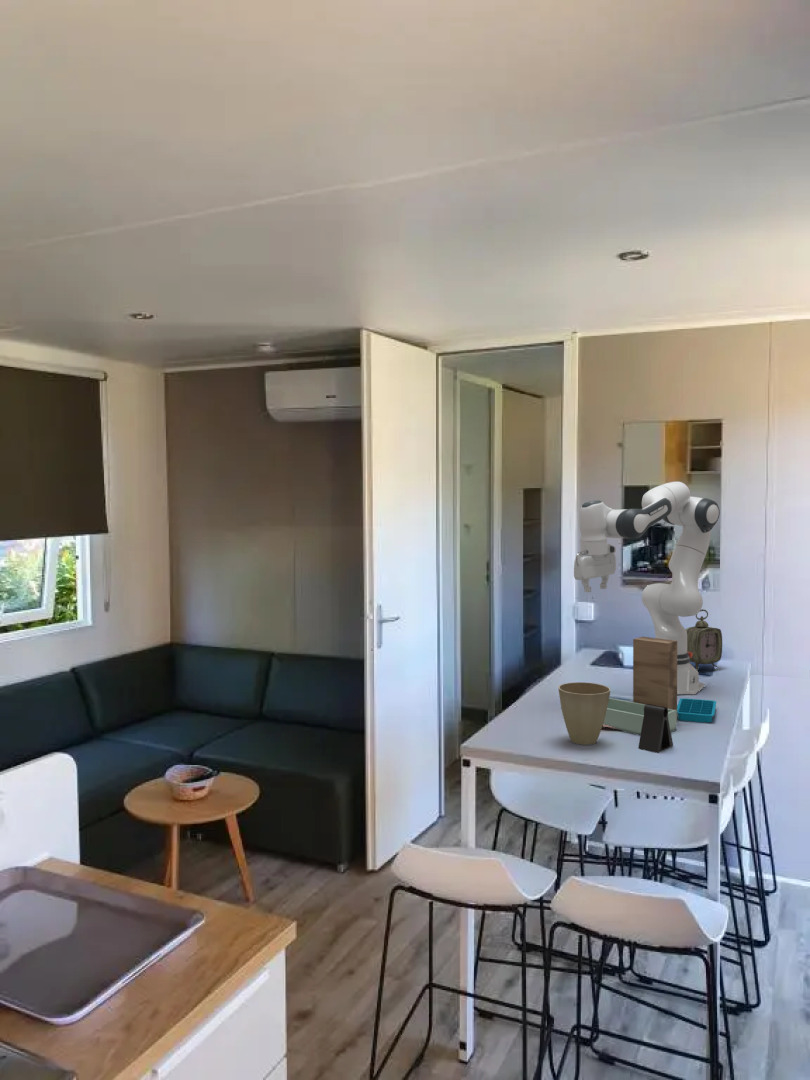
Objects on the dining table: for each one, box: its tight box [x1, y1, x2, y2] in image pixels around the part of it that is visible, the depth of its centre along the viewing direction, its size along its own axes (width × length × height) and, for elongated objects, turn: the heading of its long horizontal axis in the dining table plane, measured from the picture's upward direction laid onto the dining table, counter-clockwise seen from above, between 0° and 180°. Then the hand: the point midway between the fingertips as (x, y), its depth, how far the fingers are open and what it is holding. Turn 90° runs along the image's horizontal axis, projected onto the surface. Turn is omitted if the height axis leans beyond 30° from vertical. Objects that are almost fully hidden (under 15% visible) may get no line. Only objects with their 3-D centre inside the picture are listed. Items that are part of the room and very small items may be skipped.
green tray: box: [603, 697, 678, 736], centre depth 261 cm, size 13×28×6 cm, turn 45°
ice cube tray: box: [677, 697, 717, 724], centre depth 273 cm, size 12×20×3 cm, turn 157°
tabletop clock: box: [685, 608, 723, 671], centre depth 339 cm, size 14×9×25 cm, turn 119°
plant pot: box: [557, 681, 611, 746], centre depth 244 cm, size 15×15×16 cm
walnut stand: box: [632, 636, 678, 710], centre depth 265 cm, size 6×12×26 cm, turn 45°
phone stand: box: [637, 704, 674, 754], centre depth 238 cm, size 9×6×12 cm, turn 134°
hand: (595, 590), depth 280 cm, fingers open, 8 cm apart
